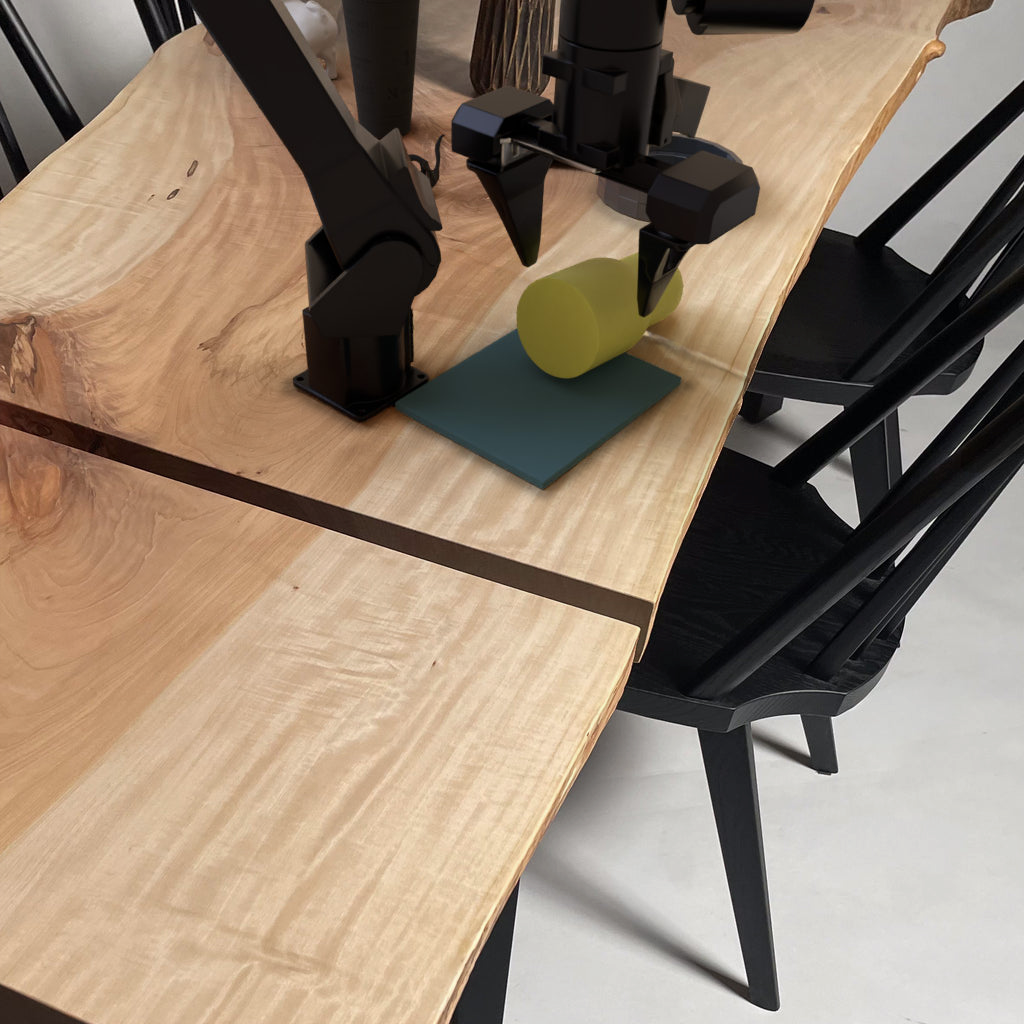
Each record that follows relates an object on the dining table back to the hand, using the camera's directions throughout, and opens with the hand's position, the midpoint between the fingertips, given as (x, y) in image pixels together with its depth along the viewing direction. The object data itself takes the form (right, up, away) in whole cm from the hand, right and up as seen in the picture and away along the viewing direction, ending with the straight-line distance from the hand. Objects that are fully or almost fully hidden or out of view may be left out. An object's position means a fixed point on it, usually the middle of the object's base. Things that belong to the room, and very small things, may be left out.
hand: (586, 288), depth 70 cm
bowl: (+9, +13, +25) cm, 30 cm away
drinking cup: (-17, +22, +35) cm, 44 cm away
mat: (-3, -7, +2) cm, 7 cm away
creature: (-15, +12, +23) cm, 30 cm away
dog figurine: (-28, +32, +45) cm, 62 cm away
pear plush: (-2, -3, 0) cm, 3 cm away
